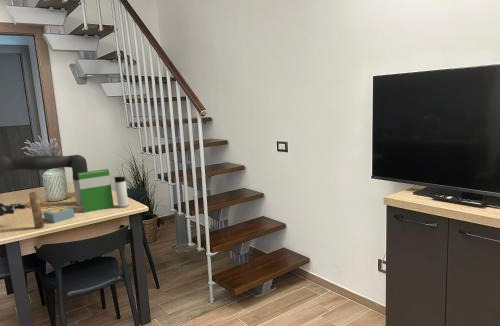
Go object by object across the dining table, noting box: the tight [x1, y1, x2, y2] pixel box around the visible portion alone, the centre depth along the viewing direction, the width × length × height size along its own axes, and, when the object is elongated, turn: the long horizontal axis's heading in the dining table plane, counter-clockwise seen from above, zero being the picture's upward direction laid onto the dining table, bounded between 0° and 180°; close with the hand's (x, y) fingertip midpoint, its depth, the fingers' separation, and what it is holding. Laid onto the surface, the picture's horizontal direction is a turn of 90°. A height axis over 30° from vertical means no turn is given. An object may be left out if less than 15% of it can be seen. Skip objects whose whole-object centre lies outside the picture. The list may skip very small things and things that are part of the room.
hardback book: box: [78, 168, 115, 214], centre depth 235 cm, size 18×7×24 cm, turn 116°
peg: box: [28, 191, 45, 230], centre depth 206 cm, size 4×4×20 cm
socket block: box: [42, 205, 75, 224], centre depth 221 cm, size 12×12×5 cm
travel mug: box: [114, 176, 130, 209], centre depth 236 cm, size 6×7×20 cm
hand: (19, 209), depth 207 cm, fingers open, 8 cm apart
